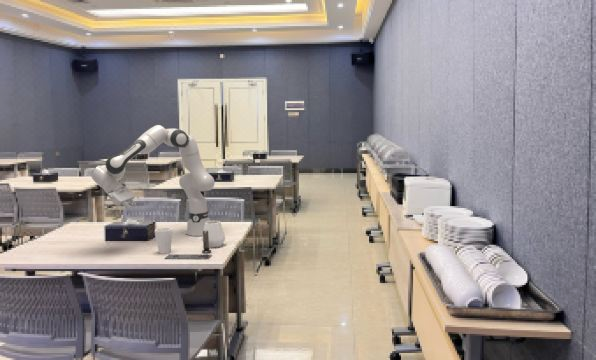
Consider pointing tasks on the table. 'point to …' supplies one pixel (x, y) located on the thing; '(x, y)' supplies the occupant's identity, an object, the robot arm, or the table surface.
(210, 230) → the white bulging cylinder
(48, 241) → the table surface
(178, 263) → the table surface
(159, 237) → the foam cup
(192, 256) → the hole plate
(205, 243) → the post
